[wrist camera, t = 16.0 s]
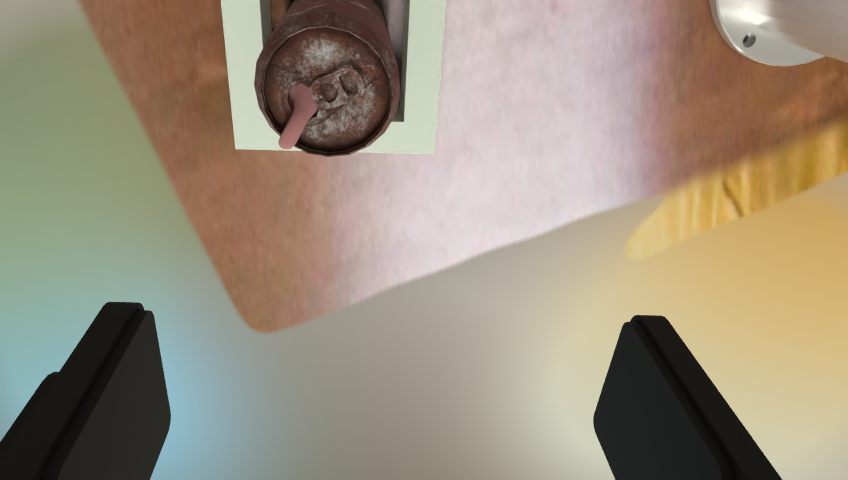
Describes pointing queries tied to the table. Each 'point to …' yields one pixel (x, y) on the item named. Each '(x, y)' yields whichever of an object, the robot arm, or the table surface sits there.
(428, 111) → the pale green square frame
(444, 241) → the table surface
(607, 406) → the robot arm
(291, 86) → the can
